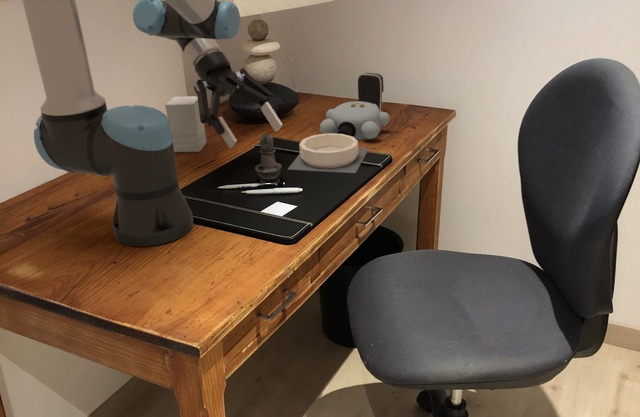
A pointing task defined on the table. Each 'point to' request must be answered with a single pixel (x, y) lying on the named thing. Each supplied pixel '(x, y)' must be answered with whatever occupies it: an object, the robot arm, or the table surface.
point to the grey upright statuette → (268, 161)
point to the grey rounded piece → (355, 120)
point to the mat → (350, 168)
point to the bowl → (329, 150)
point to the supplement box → (186, 124)
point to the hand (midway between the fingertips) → (257, 136)
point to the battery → (371, 89)
